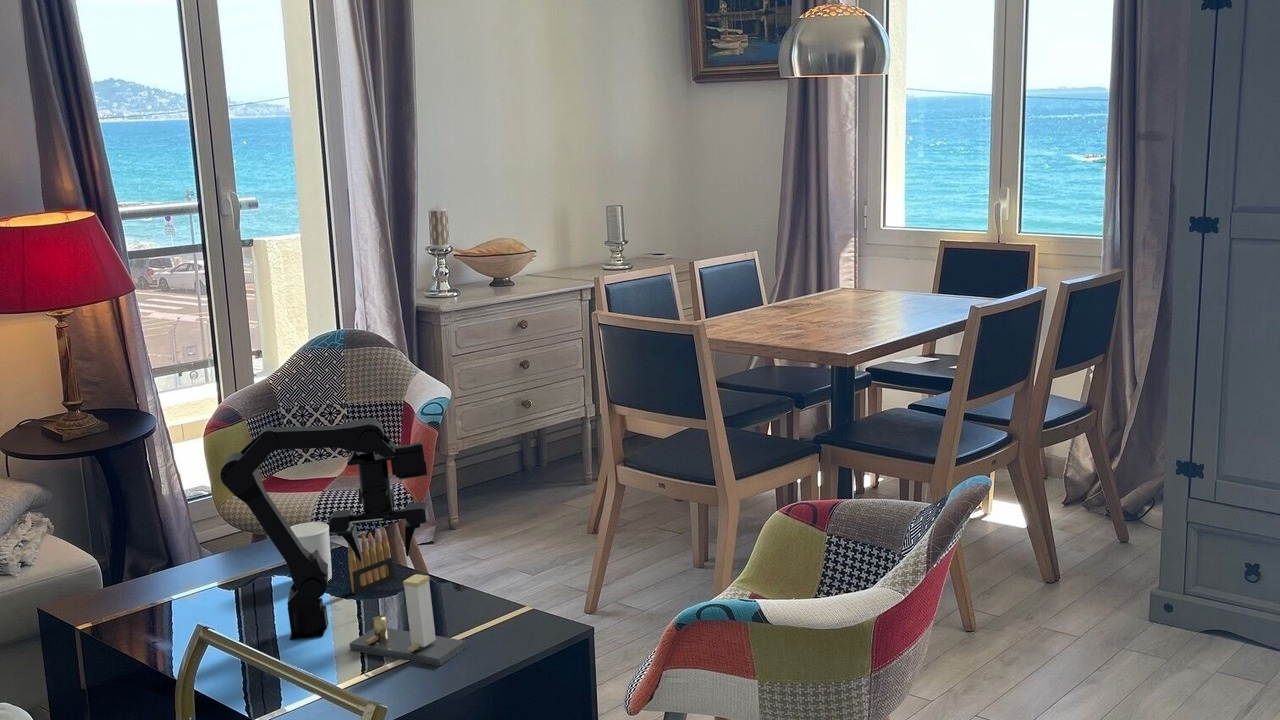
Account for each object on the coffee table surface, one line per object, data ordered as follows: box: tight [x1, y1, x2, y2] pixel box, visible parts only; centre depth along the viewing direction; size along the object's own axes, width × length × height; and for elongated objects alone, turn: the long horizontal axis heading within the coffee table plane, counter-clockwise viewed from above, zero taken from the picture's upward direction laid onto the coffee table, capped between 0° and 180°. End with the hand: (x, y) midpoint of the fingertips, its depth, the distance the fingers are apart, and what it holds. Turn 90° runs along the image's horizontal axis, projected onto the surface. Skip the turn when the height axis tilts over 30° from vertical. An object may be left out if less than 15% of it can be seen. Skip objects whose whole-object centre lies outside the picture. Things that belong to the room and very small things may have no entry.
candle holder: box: [289, 521, 333, 582], centre depth 262 cm, size 10×10×12 cm
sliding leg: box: [402, 573, 436, 652], centre depth 220 cm, size 3×6×13 cm, turn 153°
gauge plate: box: [349, 615, 467, 667], centre depth 223 cm, size 21×8×6 cm, turn 63°
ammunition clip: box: [347, 527, 396, 595], centre depth 256 cm, size 11×2×12 cm, turn 139°
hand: (384, 558), depth 236 cm, fingers open, 9 cm apart
